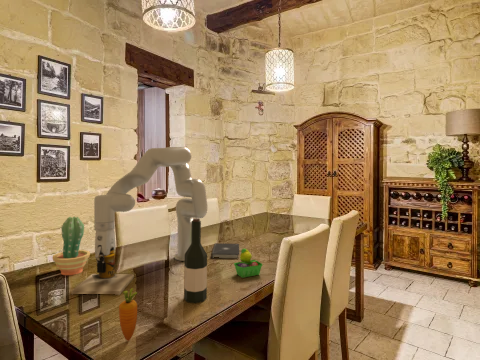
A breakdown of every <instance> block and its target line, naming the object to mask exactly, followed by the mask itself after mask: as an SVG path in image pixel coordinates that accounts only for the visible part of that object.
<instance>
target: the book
mask: <svg viewBox="0 0 480 360" xmlns="http://www.w3.org/2000/svg"><path fill="white" fill-rule="evenodd" d="M239 255H240V243H221V242H220V243H218V242H217V243H216V242H214V244H213V248H212V252H211V259H215V258H214V257H219V258H218V259H238V256H239Z"/></svg>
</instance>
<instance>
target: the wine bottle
mask: <svg viewBox="0 0 480 360" xmlns="http://www.w3.org/2000/svg"><path fill="white" fill-rule="evenodd" d="M201 225H202V221H201V218H194V219H193V221H192V226H191V245H190V246H189V248H188V250H187V251H186V253H185V258H184V261H183V262H184V263H183V264H184V266H183V267H184V269H183V270H184V271H183V272H184V273H183V274H184V277H183V279H184V281H183V283H184V285H183V286H184V287H183V288H184V289H183V291H184V294H183V299H184V300H185V302H186V303H190V304H199V303H204V302H205V300H207V297H208V295H207V294H208V293H207V292H208V288H207V287H208V252H207V251H206V250H205V248H204V247H203V245H202V243H201V241H202V239H201V236H202V234H201V233H202V226H201Z"/></svg>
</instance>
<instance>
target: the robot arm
mask: <svg viewBox="0 0 480 360" xmlns="http://www.w3.org/2000/svg"><path fill="white" fill-rule="evenodd" d="M191 159H192V153H191V151H190V149H188V148H187V147H185V146H168V147H167V146H166V147H151V148H149V149H147V150H146V151H144V153H143V155H142V156H141V158H140V159H139V160H138V161H137V163H136V164H135V165H134V166H133V168H132V170H131V171H130V172H128V173H127V174H125V175H123V176H122V177H121V178H120V179H117V181H116V182H115V183H114V184H112V186H111V187H110V189H109V190H108V191H107V192H106V194H100V195H99V194H97V195H96V196H95V197H94V199H93V202H94V203H93V205H94V206H93V209H94V212H93V213H94V217H93V220H94V231H95V236H94V254H95V260H96V272H97V273H96V274H99V273H105V272H106V262H105V256H108V255H109V254H110V249H111V248H112V247H114V251H115V250H116V234H115V232H116V231H115V229H116V227H115V226H116V225H115V224H116V223H115V219H116V216H115V215H116V213H120V212H121V213H122V212H123V213H126V212H130V211H131V210H133V209H134V208H135V205H136V200H135V198H134V197H133V196H132V195H131V194H128V193H129V192H130V191H131V190H133V189H135V188H138V187H141V186H143V185H145V184H147V183H148V182H149V181H150V180H151V178H152V177H153V175H154V174H155V172H156V171H157V170H158V168H160V167H164V168H165V167H168V168H169V167H170V168H171V170H172V173H173V178H174V184H175V185H174V186H175V191H176V194H177V195H178V196H180V197H184V198H180V199H179V200H178V201H177V202H176V204H175V214H176V217H177V253H176V254H175V255H173V256H174V260H175V261H176V260H177V261H181V262H184V258H185V253H186V251H187V250H188V248H189V246H190V245H191V226H192V221H193V219H194V218H199V219H202V218H204V217H206V215H207V213H208V200H207V191H206V187H205V186H206V185H205V183H204V182H203V181H202V180H201V179H199V178H192V173H191V169H190V166H189V162H190V161H191ZM101 253H103V254H104V255H100V254H101ZM102 257H103V259H102Z"/></svg>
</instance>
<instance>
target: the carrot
mask: <svg viewBox="0 0 480 360" xmlns="http://www.w3.org/2000/svg"><path fill="white" fill-rule="evenodd" d="M133 289H134V288H133V287H131V288H130V289H129V291H128V290H123V291H122V295H123V296H124V300H123V301H122V302H121V303H119V305H118V315H119V323H120V329H121V330H120V331H121V333H122V335H123V337H124V338H125V340H126V341H128V342H130V340H131V339H132V338H133V336H134V333H135V330H136V326H137V321H138V303H137V301H135V299H134V296H136V295H137V294H138V292H137V291H135V292H133Z"/></svg>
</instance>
